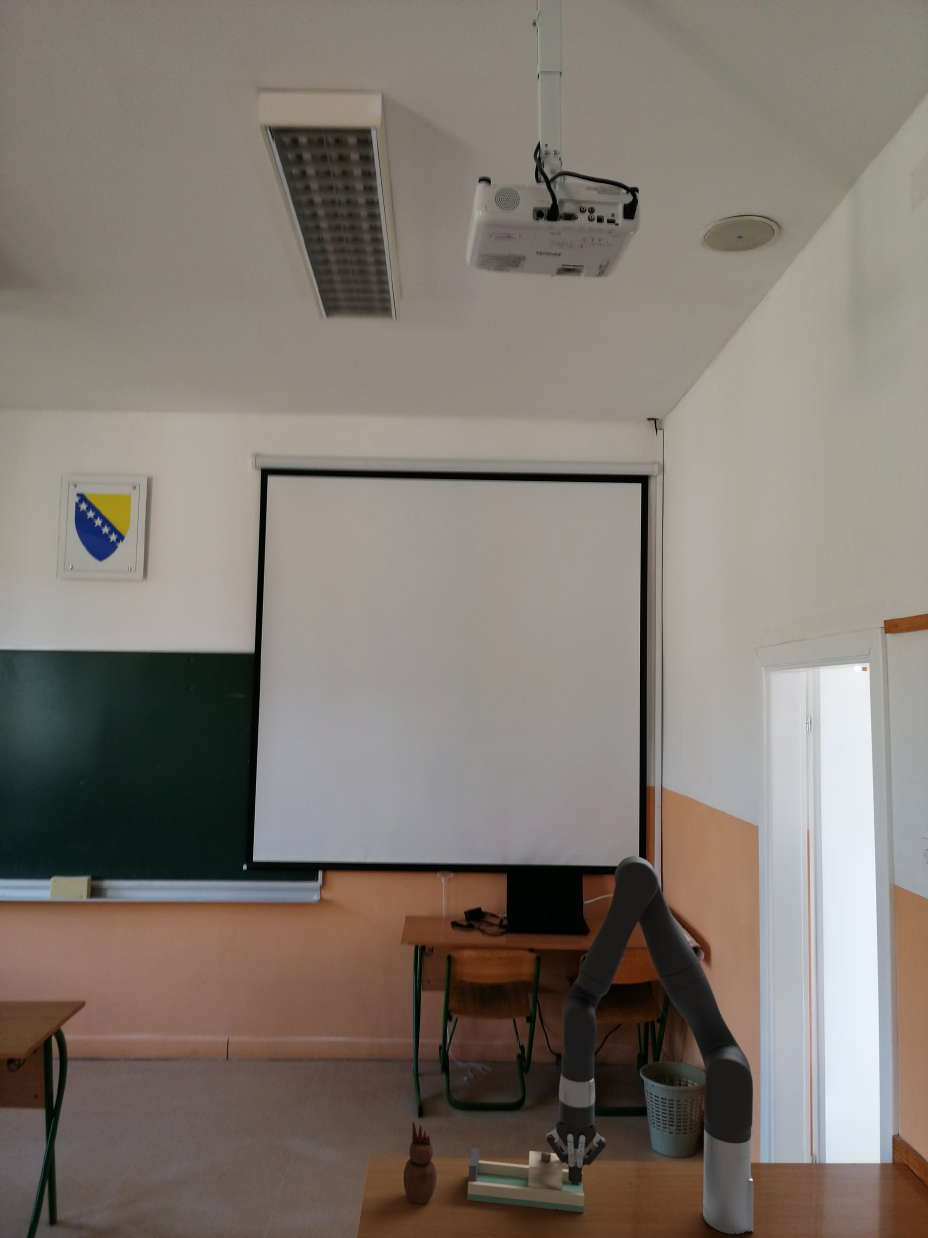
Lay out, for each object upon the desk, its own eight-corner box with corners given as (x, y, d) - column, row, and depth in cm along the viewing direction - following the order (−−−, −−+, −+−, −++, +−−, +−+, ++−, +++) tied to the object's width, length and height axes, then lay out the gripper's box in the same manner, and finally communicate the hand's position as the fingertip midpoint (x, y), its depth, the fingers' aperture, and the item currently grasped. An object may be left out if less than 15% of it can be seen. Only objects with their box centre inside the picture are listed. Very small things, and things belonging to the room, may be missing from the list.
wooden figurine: (397, 1201, 169) (401, 1125, 171) (412, 1187, 174) (415, 1113, 176) (426, 1212, 166) (429, 1134, 168) (440, 1197, 171) (443, 1122, 173)
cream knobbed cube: (561, 1181, 176) (562, 1148, 177) (561, 1198, 170) (562, 1164, 171) (528, 1178, 177) (529, 1145, 177) (528, 1194, 171) (529, 1160, 171)
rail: (582, 1187, 177) (582, 1156, 177) (583, 1212, 168) (584, 1180, 169) (471, 1175, 180) (472, 1145, 180) (467, 1200, 171) (468, 1168, 171)
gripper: (607, 1091, 178) (605, 1176, 176) (546, 1086, 179) (543, 1170, 177) (609, 1109, 170) (607, 1197, 168) (545, 1103, 172) (543, 1190, 170)
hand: (574, 1183), depth 173 cm, fingers closed
